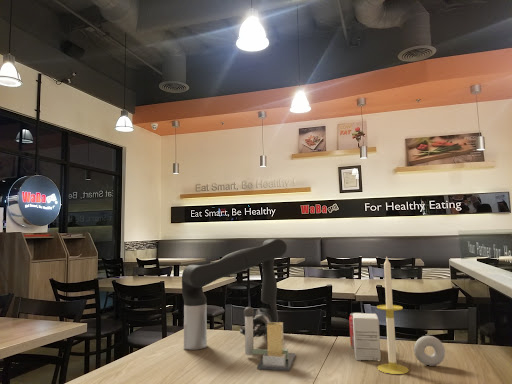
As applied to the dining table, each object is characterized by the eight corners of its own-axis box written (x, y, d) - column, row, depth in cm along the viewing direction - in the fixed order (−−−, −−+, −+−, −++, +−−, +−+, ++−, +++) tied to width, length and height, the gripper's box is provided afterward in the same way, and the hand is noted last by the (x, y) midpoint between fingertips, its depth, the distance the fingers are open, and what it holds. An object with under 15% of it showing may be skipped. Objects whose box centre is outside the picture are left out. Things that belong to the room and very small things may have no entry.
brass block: (270, 359, 141) (269, 321, 142) (283, 359, 140) (282, 322, 141) (267, 362, 137) (267, 324, 138) (282, 363, 136) (281, 324, 137)
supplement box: (354, 353, 149) (352, 312, 151) (378, 354, 147) (376, 313, 149) (355, 360, 140) (353, 317, 142) (381, 361, 139) (378, 318, 140)
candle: (394, 363, 137) (388, 254, 141) (415, 372, 128) (408, 255, 132) (370, 367, 133) (365, 255, 137) (390, 376, 124) (384, 257, 128)
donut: (416, 367, 132) (414, 336, 134) (413, 363, 136) (412, 334, 137) (447, 368, 131) (445, 337, 132) (444, 364, 134) (442, 334, 135)
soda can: (369, 350, 152) (368, 316, 153) (350, 349, 153) (349, 315, 155) (368, 345, 159) (366, 312, 160) (350, 344, 160) (348, 312, 162)
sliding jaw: (245, 352, 148) (244, 305, 150) (289, 354, 145) (288, 306, 147) (241, 357, 143) (241, 308, 145) (287, 359, 139) (286, 309, 141)
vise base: (266, 354, 150) (266, 343, 150) (295, 355, 147) (295, 344, 148) (257, 369, 133) (257, 356, 134) (289, 371, 131) (289, 357, 132)
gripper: (244, 315, 167) (233, 325, 150) (274, 316, 164) (267, 326, 147) (244, 333, 166) (233, 345, 149) (275, 334, 163) (267, 346, 146)
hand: (250, 335), depth 148 cm, fingers closed
